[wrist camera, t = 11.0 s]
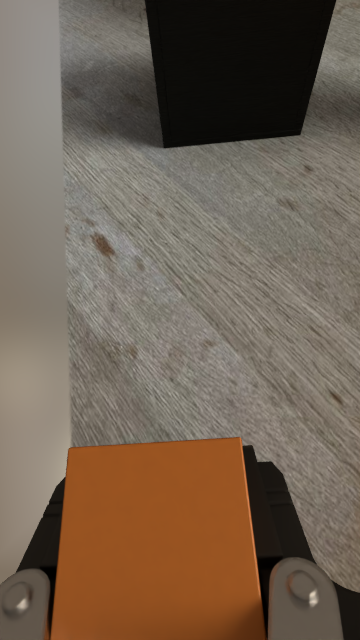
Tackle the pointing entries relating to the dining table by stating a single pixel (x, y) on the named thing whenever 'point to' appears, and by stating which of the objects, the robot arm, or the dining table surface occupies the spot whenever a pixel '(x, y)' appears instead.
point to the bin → (235, 66)
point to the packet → (157, 544)
